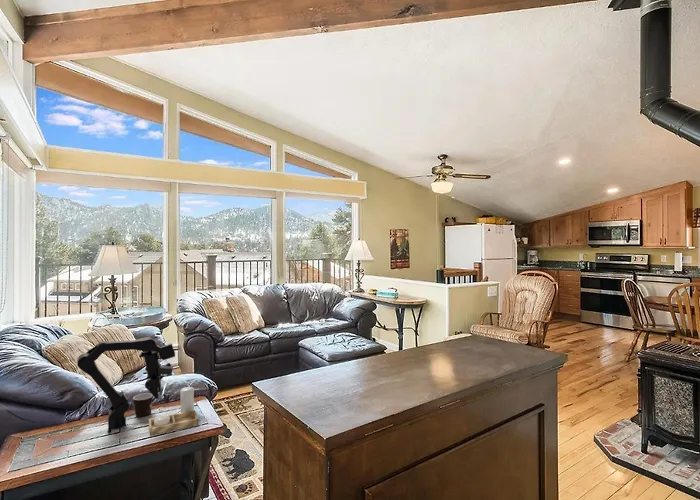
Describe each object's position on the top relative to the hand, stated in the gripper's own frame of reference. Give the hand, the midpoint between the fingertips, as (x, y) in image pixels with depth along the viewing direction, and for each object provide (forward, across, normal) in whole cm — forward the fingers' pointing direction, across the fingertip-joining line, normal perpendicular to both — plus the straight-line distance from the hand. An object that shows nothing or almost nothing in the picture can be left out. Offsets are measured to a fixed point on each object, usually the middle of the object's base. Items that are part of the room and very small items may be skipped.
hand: (158, 395), depth 186 cm
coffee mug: (+11, +8, +8) cm, 16 cm away
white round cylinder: (+12, -11, -1) cm, 16 cm away
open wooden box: (+13, -10, -5) cm, 18 cm away
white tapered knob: (+14, +1, -11) cm, 18 cm away
